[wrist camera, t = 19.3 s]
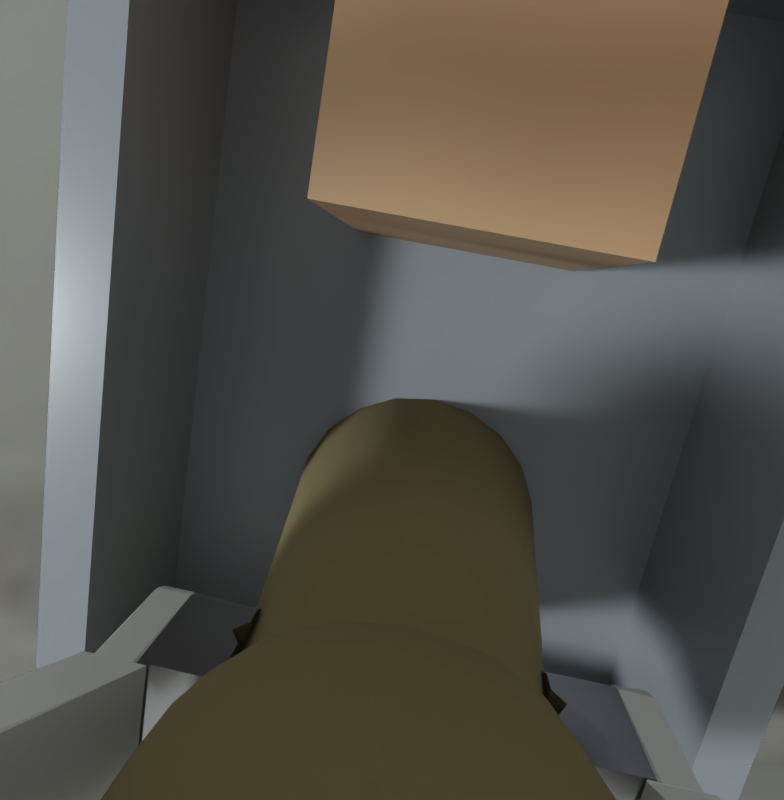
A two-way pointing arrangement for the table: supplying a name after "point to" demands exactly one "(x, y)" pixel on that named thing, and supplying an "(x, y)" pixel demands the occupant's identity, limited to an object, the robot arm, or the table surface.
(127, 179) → the tote
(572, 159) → the tan cube
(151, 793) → the cork
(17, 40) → the table surface
